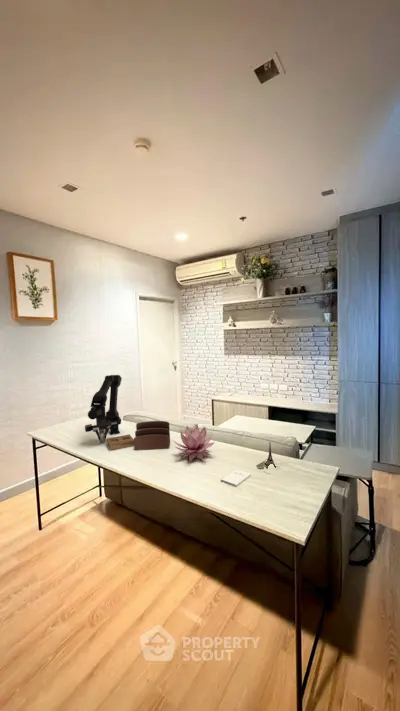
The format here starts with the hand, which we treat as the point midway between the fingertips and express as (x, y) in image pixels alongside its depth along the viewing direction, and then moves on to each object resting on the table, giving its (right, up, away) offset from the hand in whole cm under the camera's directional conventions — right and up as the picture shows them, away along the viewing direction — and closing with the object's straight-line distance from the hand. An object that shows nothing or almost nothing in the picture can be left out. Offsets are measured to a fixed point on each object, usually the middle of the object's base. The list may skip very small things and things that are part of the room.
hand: (102, 439), depth 183 cm
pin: (0, -2, 0) cm, 2 cm away
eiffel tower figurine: (+94, -2, -39) cm, 102 cm away
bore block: (+13, -2, -5) cm, 14 cm away
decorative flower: (+57, -2, -25) cm, 63 cm away
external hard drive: (+76, -4, -50) cm, 92 cm away
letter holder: (+33, -2, -9) cm, 34 cm away
